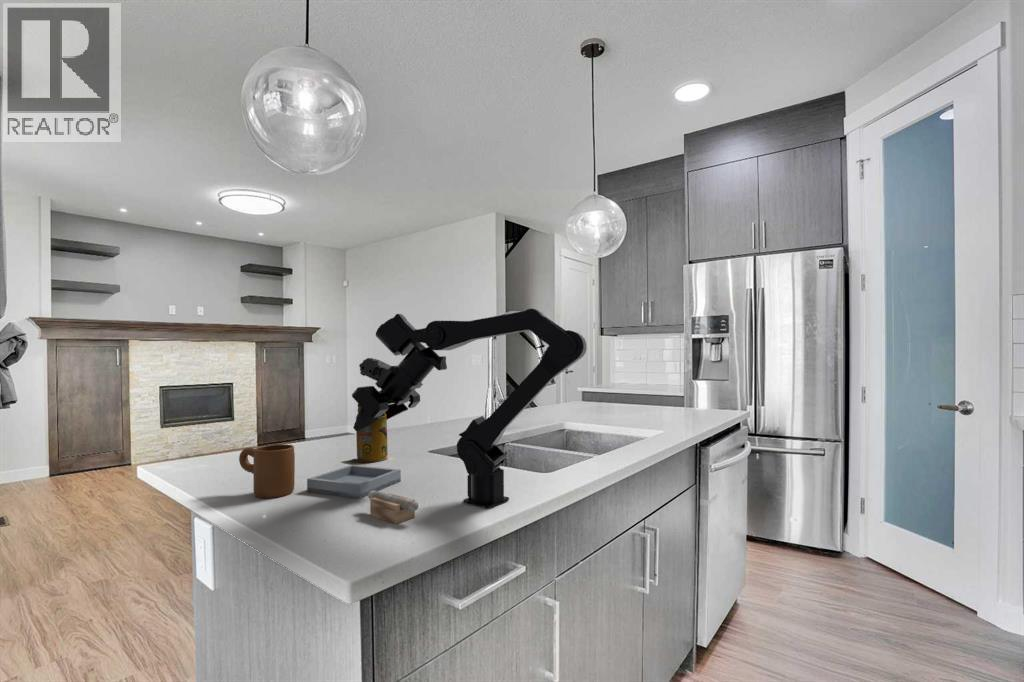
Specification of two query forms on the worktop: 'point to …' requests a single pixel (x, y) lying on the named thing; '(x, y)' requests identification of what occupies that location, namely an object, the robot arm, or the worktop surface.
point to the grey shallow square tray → (354, 480)
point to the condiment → (371, 443)
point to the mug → (270, 469)
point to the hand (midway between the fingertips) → (363, 427)
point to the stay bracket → (391, 507)
